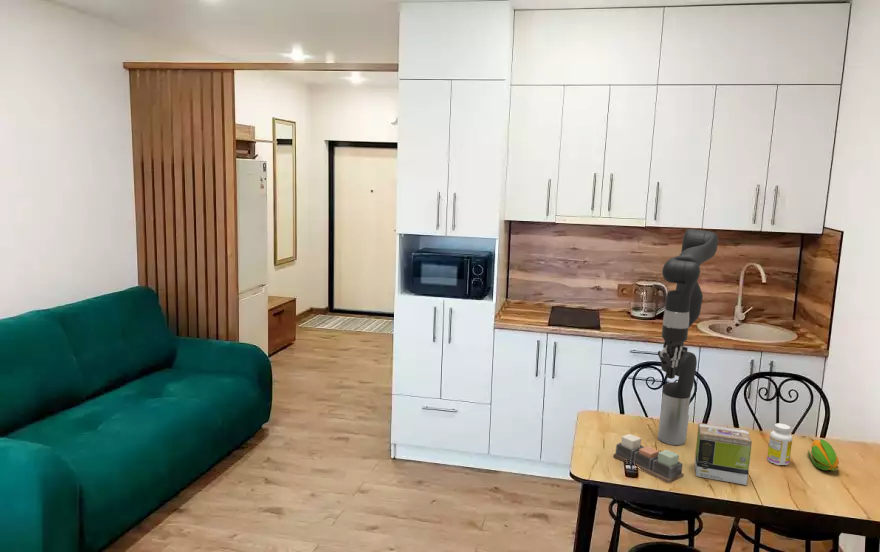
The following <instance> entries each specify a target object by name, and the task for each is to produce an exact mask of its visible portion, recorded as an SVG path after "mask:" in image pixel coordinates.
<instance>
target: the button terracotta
mask: <svg viewBox="0 0 880 552" xmlns="http://www.w3.org/2000/svg"><path fill="white" fill-rule="evenodd" d="M659 452H660V451H659V450H657V449H655V448H653V447H650V446H648V445H646V446H644V448H641V449H639V454H642V455H644V456H646V457H648V458H654V457H656V456H658V453H659Z"/></svg>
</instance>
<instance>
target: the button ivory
mask: <svg viewBox="0 0 880 552" xmlns="http://www.w3.org/2000/svg"><path fill="white" fill-rule="evenodd" d="M620 443H621V445H622V446H624V447H626V448H628V449H631V450H635V449H637V448H640V445H641V446H642V444H641V443H642V438H641V437H639V436H636V435H633V434H631V433H629V434H625V435H623V436H621V442H620Z"/></svg>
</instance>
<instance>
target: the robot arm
mask: <svg viewBox="0 0 880 552" xmlns="http://www.w3.org/2000/svg"><path fill="white" fill-rule="evenodd" d="M718 245H719V237H718V234H717V233H715V232H714V231H708V230H702V229H695V228H688V229H686V230H685V232H684V234H683V238H682V245H681V253H679V255H676V256H673V257H671V258H670V259H668V260H667V261H666V262H665V263H664V265H663V268H662V276H663V277H662V278H664V280H665V281H666V282H668V283H673V284H676V286H675V289H673V290H669V291H668V292H667V294H666V300H665V310H664V313H663V318H662V319H663V320H662V329H661V338H662V339H663V340H664V342H663V344H662V350H658V351H657V354H658V358H659V359H660V367H661V370H662V371H663V372H664V373H665V377H666V378H667V379H675V377H678V379H677V381H674V382H673V381H671V382H667V383H664V384H663V388H662V395H661V396H662V397H661V404H660V414H659V415H660V416H659V425H658V431H657V432H658V434H657V439H658V440H659V441H660V442H661V443H664V444H667V445H671V446H681V445H684V444H685V443H686V440H687V436H688V427H689V426H688V425H689V418H690V417H689V416H690V415H689V413H690V412H689V410H690V401H691V395H692V391H693V388H694V381H695V375H696V370H697V364H698V363H697V361H698V359H697V356H696V354H695V353H693V352H691V351H689V349H688V347H686V346H684V344H685V343H684V342H686V341H688V336H689V335H688V334H689V328H690V327H692V325H693V324H694V323H695V322H696V321H697V319H698V318H699V317H700V315H701V310H702V305H703V304H702V303H703V299H704V298H703V292H702V289H701V286H700V285H699V282H698V280H699V277H700V274H701V268H700V267H701V265H702V264H703V263H705V262H707V261H708V260H710V259H712V258H713V257H714V256H715V255H716V253H717V250H718V247H719V246H718Z"/></svg>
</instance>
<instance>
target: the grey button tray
mask: <svg viewBox="0 0 880 552" xmlns="http://www.w3.org/2000/svg"><path fill="white" fill-rule="evenodd" d="M644 447H645V446H643V445H642V444H641V445H640V448H637V449H635V450H631V449H628V448H626V447H624V446H622V445H621V442H618V443H617V444H616V445H615V453H613V455H612V456H613V458H614V459H616V460H619V461H621V462H622V461H625V460H626V459H628V460H631V461H633V462H635V463H636V465H637V467H639V468H640V469H641V470H640V471H642V470H643V471H642V472H644V471H645V472H644V473H646V474H648V475H650V476H652V477H654V478H656V479H659V480H661V481H663V482H665V483H667V484H669V483H673V482H675V481H676V480H679V479H681V478H684V472H682V471H683V465H684V464H683V463H682V462H680V461H678V464H677V465H675V466H672V467H668V466H666V465H664V464H662V463H659V462H657V461H658V456H656V457H654V458H648V457H646V456H644V455H642V454H639V449H641V448H644Z"/></svg>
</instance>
